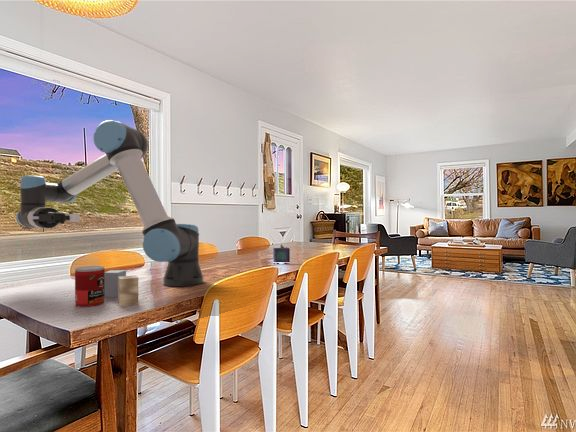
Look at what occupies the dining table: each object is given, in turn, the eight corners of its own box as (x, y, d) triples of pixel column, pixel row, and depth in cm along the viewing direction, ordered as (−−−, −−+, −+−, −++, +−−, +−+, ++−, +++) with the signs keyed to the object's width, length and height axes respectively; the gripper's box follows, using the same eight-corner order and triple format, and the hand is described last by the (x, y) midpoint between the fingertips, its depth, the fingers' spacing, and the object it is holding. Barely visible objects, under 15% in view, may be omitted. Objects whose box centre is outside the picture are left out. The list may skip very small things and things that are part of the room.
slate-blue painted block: (126, 293, 117) (126, 270, 117) (118, 297, 112) (117, 272, 112) (111, 293, 117) (111, 270, 117) (103, 296, 112) (103, 272, 112)
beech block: (135, 300, 107) (135, 275, 107) (138, 304, 103) (138, 277, 103) (118, 302, 105) (118, 276, 105) (120, 306, 100) (120, 279, 100)
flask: (272, 264, 189) (272, 244, 189) (273, 263, 192) (273, 244, 192) (289, 264, 188) (289, 244, 188) (290, 263, 191) (290, 244, 191)
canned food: (91, 307, 99) (91, 269, 99) (68, 306, 101) (68, 269, 101) (110, 301, 106) (110, 266, 106) (88, 300, 108) (88, 265, 108)
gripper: (64, 227, 129) (97, 228, 116) (23, 228, 118) (54, 230, 105) (64, 207, 129) (97, 206, 116) (23, 206, 118) (54, 205, 105)
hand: (77, 217), depth 110 cm, fingers closed
